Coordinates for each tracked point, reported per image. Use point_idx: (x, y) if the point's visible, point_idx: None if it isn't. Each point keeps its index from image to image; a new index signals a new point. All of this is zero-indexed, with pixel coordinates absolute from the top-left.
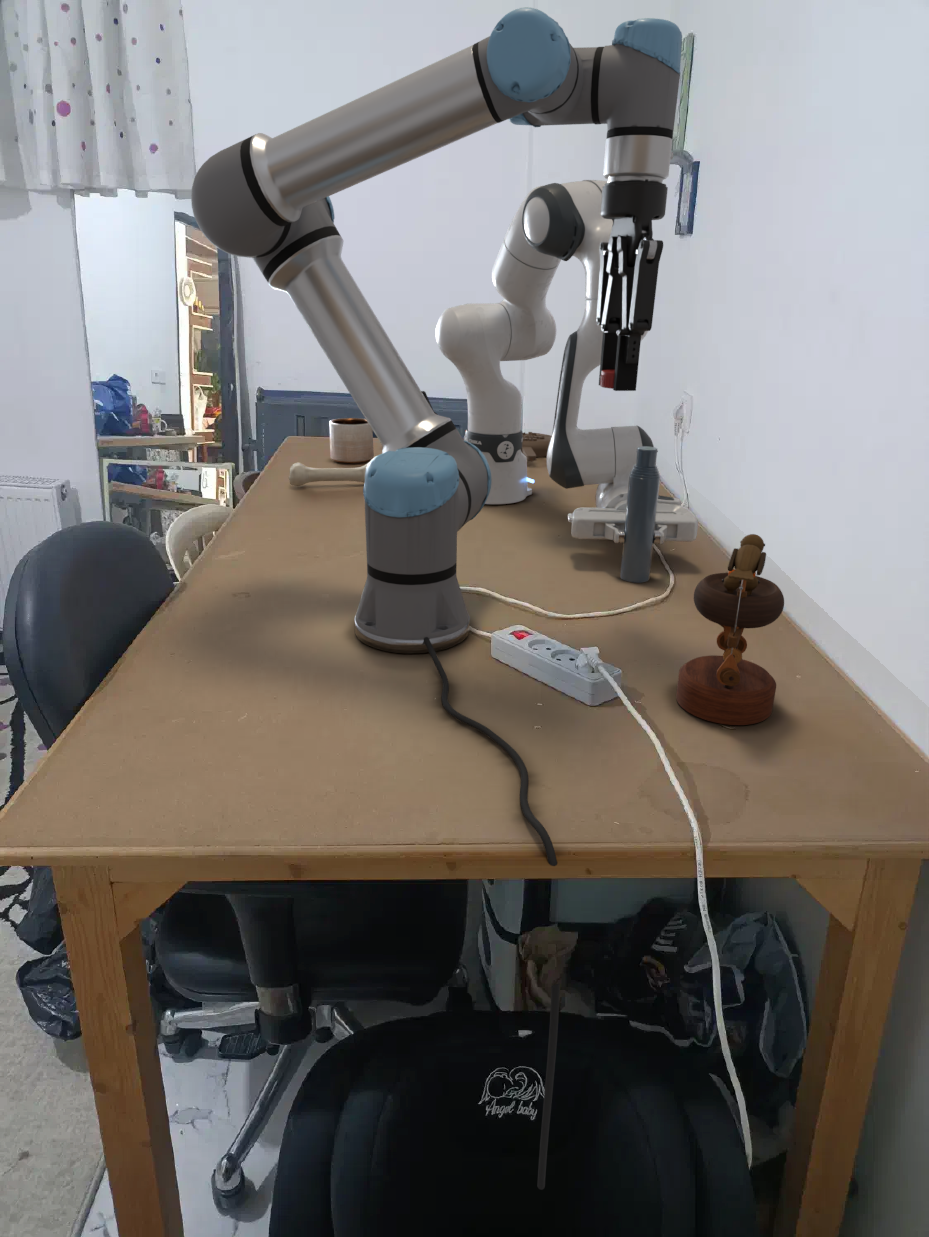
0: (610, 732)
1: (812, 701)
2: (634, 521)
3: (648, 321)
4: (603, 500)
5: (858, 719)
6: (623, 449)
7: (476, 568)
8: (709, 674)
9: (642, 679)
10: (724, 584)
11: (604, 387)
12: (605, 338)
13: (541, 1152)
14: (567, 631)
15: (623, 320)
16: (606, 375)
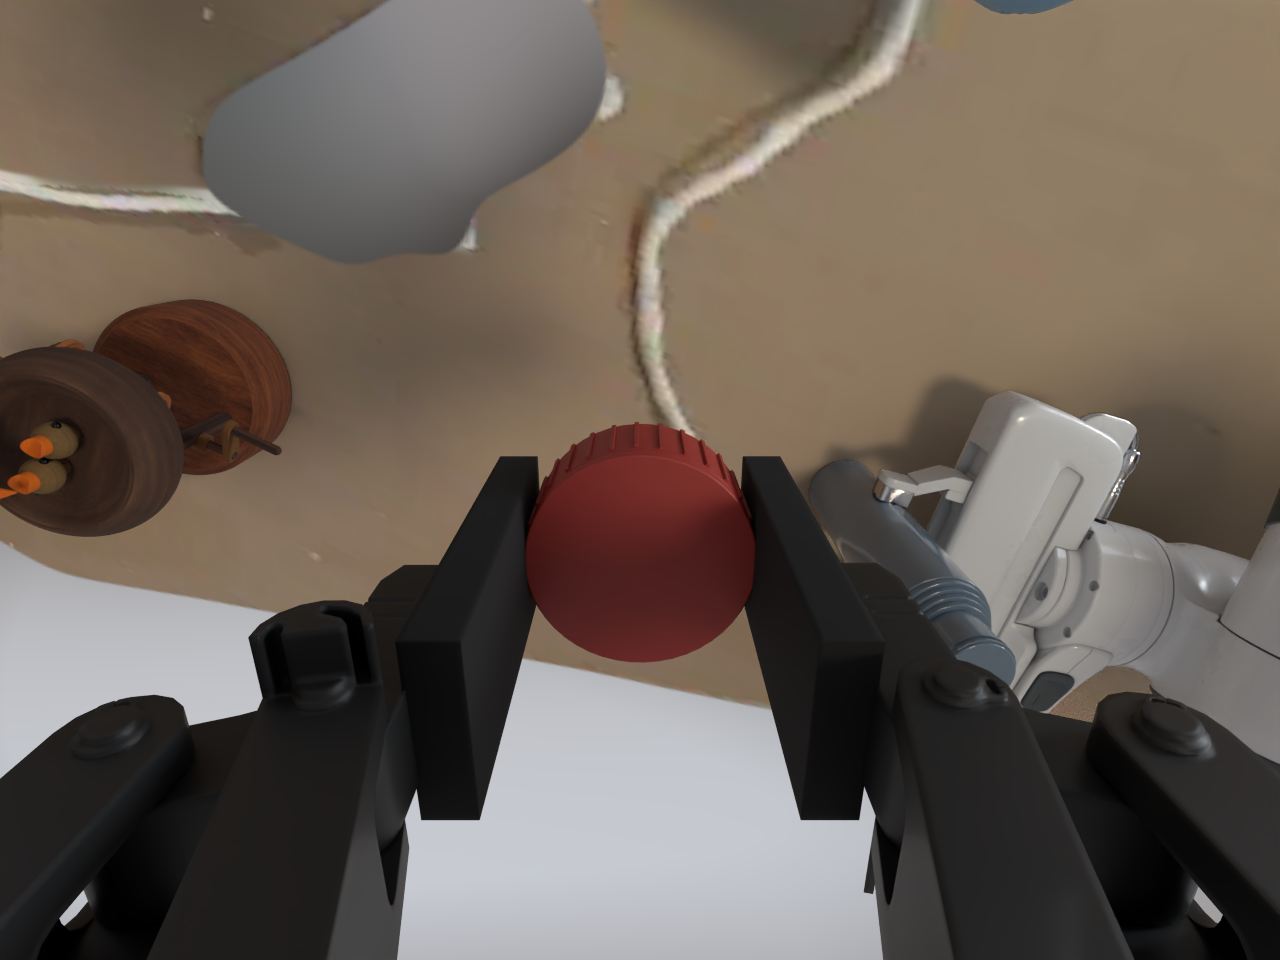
0: (96, 124)
1: (222, 528)
2: (866, 528)
3: (76, 923)
4: (1154, 550)
5: (162, 560)
6: (1275, 690)
7: (1045, 104)
8: (165, 359)
9: (313, 280)
10: (51, 422)
11: (608, 430)
12: (807, 617)
13: None
14: (564, 212)
15: (323, 766)
16: (590, 456)
